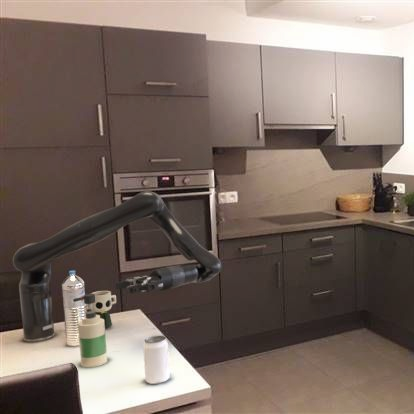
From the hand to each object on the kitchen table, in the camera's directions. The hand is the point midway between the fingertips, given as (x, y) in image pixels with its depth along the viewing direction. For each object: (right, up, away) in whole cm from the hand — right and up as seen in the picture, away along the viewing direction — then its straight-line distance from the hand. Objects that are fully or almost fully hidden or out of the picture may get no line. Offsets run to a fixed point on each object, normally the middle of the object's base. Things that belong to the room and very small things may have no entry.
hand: (122, 288), depth 174 cm
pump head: (-7, -5, -9) cm, 12 cm away
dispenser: (-6, -22, -6) cm, 24 cm away
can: (+19, -23, -19) cm, 35 cm away
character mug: (-19, -19, +27) cm, 38 cm away
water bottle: (-20, -21, +11) cm, 31 cm away
